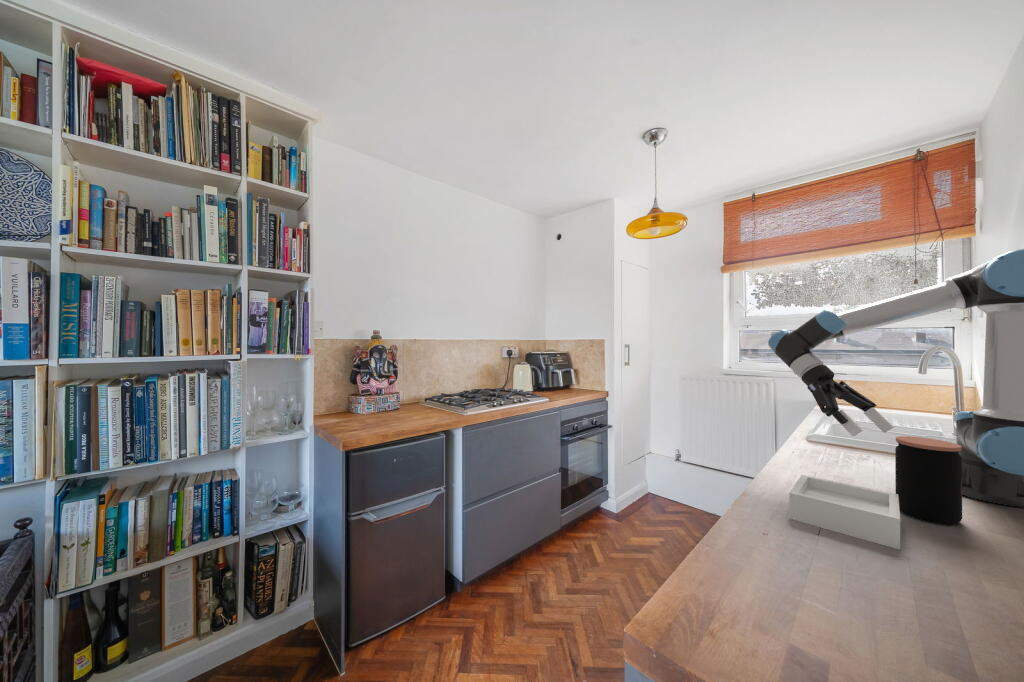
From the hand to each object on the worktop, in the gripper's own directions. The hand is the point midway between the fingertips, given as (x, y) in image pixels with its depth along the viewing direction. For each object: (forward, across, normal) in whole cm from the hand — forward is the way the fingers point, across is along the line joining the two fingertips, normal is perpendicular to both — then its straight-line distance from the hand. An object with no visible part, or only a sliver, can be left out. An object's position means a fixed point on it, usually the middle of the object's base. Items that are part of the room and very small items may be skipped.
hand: (874, 431), depth 98 cm
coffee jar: (+20, 0, -6) cm, 21 cm away
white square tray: (+17, +22, -10) cm, 29 cm away
